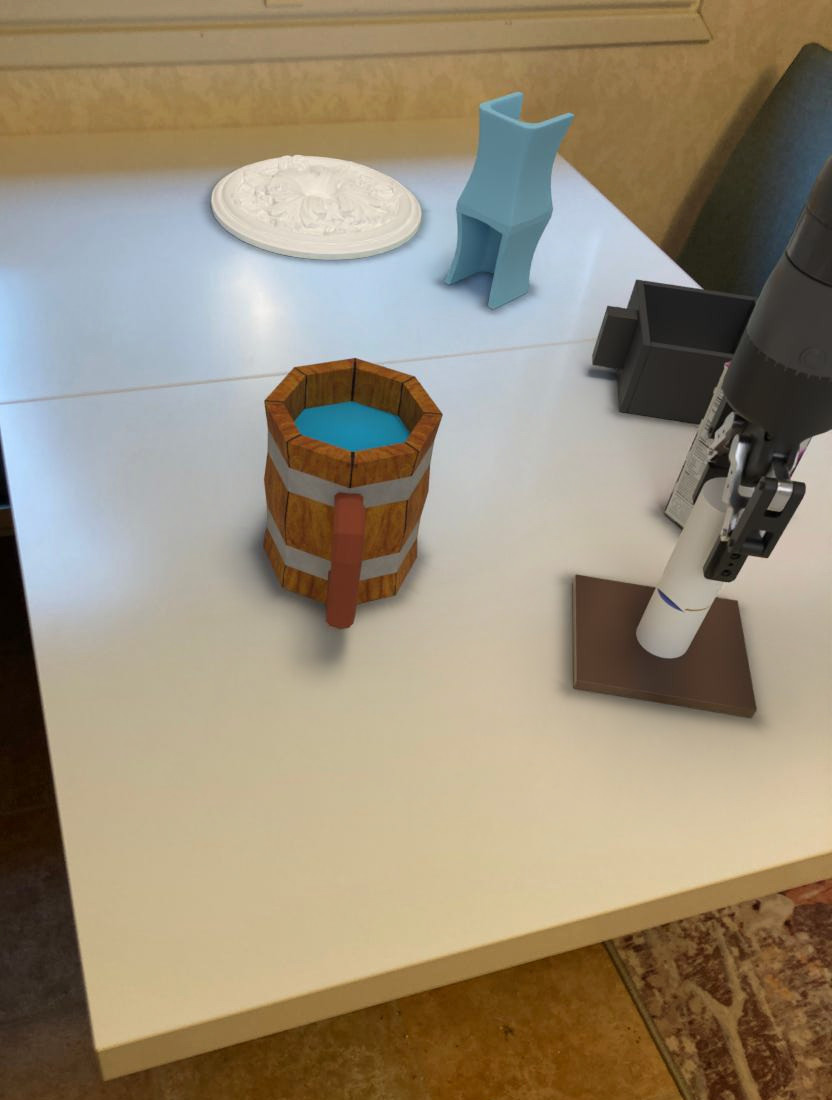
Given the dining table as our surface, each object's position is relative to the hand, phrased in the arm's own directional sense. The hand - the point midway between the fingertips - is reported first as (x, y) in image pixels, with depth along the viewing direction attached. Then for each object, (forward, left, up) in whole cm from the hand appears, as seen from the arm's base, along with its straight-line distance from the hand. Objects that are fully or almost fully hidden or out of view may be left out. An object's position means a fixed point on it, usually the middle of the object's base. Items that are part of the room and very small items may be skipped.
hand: (710, 539), depth 68 cm
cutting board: (0, 0, -12) cm, 12 cm away
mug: (+27, -2, -12) cm, 30 cm away
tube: (0, 0, -11) cm, 11 cm away
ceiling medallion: (+41, -70, -12) cm, 82 cm away
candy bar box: (-7, -19, -12) cm, 24 cm away
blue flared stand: (+17, -56, -12) cm, 60 cm away
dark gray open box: (-3, -40, -12) cm, 42 cm away
